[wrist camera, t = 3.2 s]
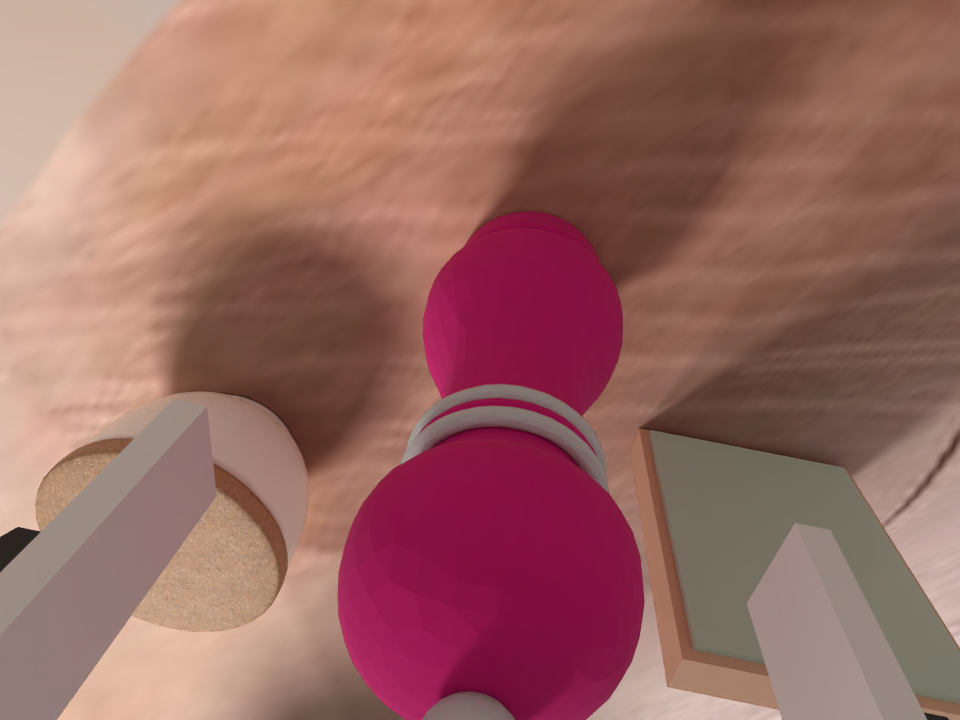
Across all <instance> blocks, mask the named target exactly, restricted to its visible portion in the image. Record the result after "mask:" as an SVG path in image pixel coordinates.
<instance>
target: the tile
mask: <svg viewBox="0 0 960 720" xmlns="http://www.w3.org/2000/svg"><path fill="white" fill-rule="evenodd" d="M630 454H631V461H632V467H633V473H634V479H635V486H636V492H637V498H638V505H639V511H640V517H641V524H642V530H643V536H644V543H645V549H646V555H647V561H648V568H649V574H650V580H651V587H652V593H653V599H654V606H655V612H656V618H657V625H658V631H659V637H660V643H661V650H662V656H663V662H664V669H665V675H666V681H667V687H671V688H676V689H680V690H685V691H690V692H695V693H700V694H705V695H710V696H715V697H719V698H724V699H729V700H734V701H739V702H744V703H749V704H754V705H758V706H763V707H768V708H773V709H778V710H779V707H778V704H777V701H776V697H775V694H774V691H773V688H772V684H771V681H770V678H769V675H768V671H767V668H766V665H765V662H764V658H763V655H762V652H761V648H760V645H759V642H758V639H757V635H756V632H755V629H754V626H753V622H752V619H751V616H750V612H749V609H748V606H747V602H748V601H749V599H750V597H751V596H752V594H753V592H754V591H755V589H756V587H757V586H758V584H759V582H760V581H761V579H762V577H763V576H764V574H765V572H766V571H767V569H768V567H769V566H770V564H771V562H772V561H773V559H774V557H775V556H776V554H777V552H778V551H779V549H780V547H781V546H782V544H783V542H784V541H785V539H786V537H787V536H788V534H789V532H790V531H791V529H792V527H793V526H794V524H795V523H799V524H804V525H809V526H814V527H819V528H824V529H829V530H831V532H832V534H833V536H834V538H835V540H836V542H837V544H838V545H839V547H840V549H841V551H842V553H843V555H844V557H845V559H846V561H847V563H848V565H849V567H850V569H851V571H852V573H853V575H854V577H855V579H856V581H857V583H858V585H859V587H860V589H861V591H862V593H863V595H864V596H865V598H866V600H867V602H868V604H869V606H870V608H871V610H872V612H873V614H874V616H875V618H876V620H877V622H878V624H879V626H880V628H881V630H882V632H883V634H884V636H885V638H886V640H887V642H888V644H889V646H890V648H891V649H892V651H893V653H894V655H895V657H896V659H897V661H898V663H899V665H900V667H901V669H902V671H903V673H904V675H905V677H906V679H907V681H908V683H909V685H910V687H911V689H912V691H913V693H914V695H915V697H916V699H917V700H918V702H919V704H920V706H921V708H922V710H923V712H925V713H930V714H934V715H939V716H944V717H947V718H948V719H949V720H960V648H959V646H958V644H957V643H956V641H955V640H954V638H953V636H952V635H951V633H950V632H949V630H948V629H947V627H946V625H945V624H944V622H943V621H942V619H941V618H940V616H939V614H938V613H937V611H936V610H935V608H934V606H933V605H932V603H931V602H930V600H929V599H928V597H927V595H926V594H925V592H924V591H923V589H922V587H921V586H920V584H919V583H918V581H917V580H916V578H915V576H914V575H913V573H912V572H911V570H910V568H909V567H908V565H907V564H906V562H905V561H904V559H903V557H902V556H901V554H900V553H899V551H898V549H897V548H896V546H895V545H894V543H893V542H892V540H891V538H890V537H889V535H888V534H887V532H886V531H885V529H884V527H883V526H882V524H881V523H880V521H879V519H878V518H877V516H876V515H875V513H874V512H873V510H872V508H871V507H870V505H869V504H868V502H867V500H866V499H865V497H864V496H863V494H862V493H861V491H860V489H859V488H858V486H857V485H856V483H855V481H854V480H853V478H852V477H851V475H850V474H849V472H848V470H847V469H846V468H844V467H839V466H834V465H829V464H824V463H818V462H813V461H808V460H803V459H798V458H793V457H787V456H782V455H777V454H772V453H767V452H762V451H757V450H751V449H746V448H741V447H736V446H731V445H726V444H721V443H715V442H710V441H705V440H700V439H695V438H690V437H685V436H679V435H674V434H669V433H664V432H659V431H654V430H645V429H640V428H639V429H638V432H637V435H636V438H635V440H634V443H633V446H632V449H631V451H630Z"/></svg>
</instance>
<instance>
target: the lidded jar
mask: <svg viewBox="0 0 960 720" xmlns="http://www.w3.org/2000/svg"><path fill="white" fill-rule="evenodd" d="M173 399H174V400H179V401H185V402H190V403H195V404H200V405H205V406H207V411H208V420H209V430H210V439H211V448H212V457H213V467H214V476H215V485H216V494H217V496H216V498H215V499H214V500H213V502H212V503H211V505H210V506H209V507H208V509H207V510H206V512H205V513H204V514H203V516H202V517H201V519H200V520H199V521H198V523H197V524H196V526H195V527H194V528H193V530H192V531H191V533H190V534H189V535H188V537H187V538H186V540H185V541H184V542H183V544H182V545H181V547H180V548H179V549H178V551H177V552H176V554H175V555H174V556H173V558H172V559H171V561H170V562H169V563H168V565H167V566H166V568H165V569H164V570H163V572H162V573H161V575H160V576H159V577H158V579H157V580H156V582H155V583H154V584H153V586H152V587H151V589H150V590H149V591H148V593H147V594H146V596H145V597H144V598H143V600H142V601H141V603H140V604H139V605H138V607H137V608H136V610H135V611H134V612H133V614H132V615H131V616H134V617H136V618H139V619H141V620H144V621H147V622H150V623H153V624H156V625H159V626H163V627H168V628H172V629H178V630H185V631H192V632H212V631H224V630H228V629H232V628H236V627H239V626H242V625H244V624H247V623H249V622H251V621H253V620H254V619H256V618H257V617H259V616H260V615H262V614H263V613H264V612H265V611H266V610H267V609H268V608H269V607H270V606H271V605H272V603H273V602H274V600H275V598H276V596H277V595H278V593H279V591H280V589H281V587H282V584H283V582H284V579H285V575H286V572H287V568H288V566H289V564H290V562H291V560H292V558H293V556H294V553H295V551H296V549H297V547H298V544H299V541H300V537H301V534H302V531H303V528H304V524H305V521H306V516H307V510H308V505H309V481H308V474H307V470H306V466H305V463H304V460H303V457H302V454H301V452H300V450H299V448H298V446H297V444H296V443H295V441H294V440H293V438H292V435H291V433H290V432H289V430H288V428H287V427H286V425H285V424H284V423H283V422H282V420H281V419H280V418H279V417H278V416H277V415H276V414H274V413H273V412H272V411H271V410H269V409H268V408H266V407H265V406H263V405H262V404H260V403H258V402H256V401H254V400H251V399H248V398H245V397H242V396H237V395H230V394H221V393H216V392H205V391H200V392H184V393H177V394H172V395H168V396H164V397H161V398H157V399H154V400H152V401H149V402H147V403H145V404H142V405H140V406H138V407H136V408H134V409H132V410H130V411H128V412H127V413H125V414H124V415H122V416H121V417H119V418H118V419H116V420H115V421H113V422H112V423H110V424H109V425H107V426H106V427H104V428H103V429H101V430H100V431H99V432H98V433H97V434H95V435H94V436H93V437H92V438H90V439H89V440H88V441H87V442H86V443H84V444H83V445H82V446H81V447H79V448H78V449H76V450H75V451H73V452H72V453H70V454H69V455H67V456H66V457H65V458H63V459H62V460H61V461H60V462H58V463H57V464H56V465H55V466H54V467H53V468H52V469H51V470H50V471H49V473H48V474H47V475H46V476H45V477H44V479H43V481H42V483H41V485H40V487H39V489H38V494H37V499H36V519H37V522H38V526H39V529H40V532H41V531H42V530H43V529H44V528H45V527H46V526H47V525H48V524H49V523H50V522H51V521H52V520H53V519H54V518H55V517H56V516H57V515H58V514H59V513H60V512H61V511H62V510H63V509H64V508H65V507H66V506H67V505H68V504H69V503H70V502H71V501H72V500H73V499H74V498H75V497H76V496H77V495H78V494H79V493H80V492H81V491H82V490H83V489H84V488H85V487H86V486H87V485H88V484H89V483H90V482H91V481H92V480H93V479H94V478H95V477H96V476H97V475H98V474H99V473H100V472H101V471H102V470H103V469H104V468H105V467H106V466H107V465H108V464H109V463H110V462H111V461H112V460H113V459H114V458H115V457H116V456H117V455H118V454H119V453H120V452H121V451H122V450H123V449H124V448H125V447H126V446H127V445H128V444H129V443H130V442H131V441H132V440H133V439H134V438H135V437H136V436H137V435H138V434H139V433H140V432H141V431H142V430H143V429H144V428H145V427H146V426H147V425H148V424H149V423H150V422H151V421H152V420H153V419H154V418H155V417H156V416H157V415H158V414H159V413H160V412H161V411H162V410H163V409H164V408H165V407H166V406H167V405H168V404H169V403H170V402H171V401H172V400H173Z"/></svg>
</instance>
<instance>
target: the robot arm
mask: <svg viewBox="0 0 960 720" xmlns="http://www.w3.org/2000/svg"><path fill="white" fill-rule="evenodd" d="M216 496H217V494H216V485H215V476H214V467H213V457H212V448H211V439H210V430H209V420H208V411H207V406H205V405H200V404H195V403H190V402H185V401H179V400H174V399H173V400H172V401H171V402H170V403H169V404H168V405H167V406H166V407H165V408H164V409H163V410H162V411H161V412H160V413H159V414H158V415H157V416H156V417H155V418H154V419H153V420H152V421H151V422H150V423H149V424H148V425H147V426H146V427H145V428H144V429H143V430H142V431H141V432H140V433H139V434H138V435H137V436H136V437H135V438H134V439H133V440H132V441H131V442H130V443H129V444H128V445H127V446H126V447H125V448H124V449H123V450H122V451H121V452H120V453H119V454H118V455H117V456H116V457H115V458H114V459H113V460H112V461H111V462H110V463H109V464H108V465H107V466H106V467H105V468H104V469H103V470H102V471H101V472H100V473H99V474H98V475H97V476H96V477H95V478H94V479H93V480H92V481H91V482H90V483H89V484H88V485H87V486H86V487H85V488H84V489H83V490H82V491H81V492H80V493H79V494H78V495H77V496H76V497H75V498H74V499H73V500H72V501H71V502H70V503H69V504H68V505H67V506H66V507H65V508H64V509H63V510H62V511H61V512H60V513H59V514H58V515H57V516H56V517H55V518H54V519H53V520H52V521H51V522H50V523H49V524H48V525H47V526H46V527H45V528H44V529H43V530H42V531H41V532H40V531H35V530H30V529H25V528H20V527H17V528H15V529H14V530H12V531H10V532H8V533H6V534H5V535H3V536H1V537H0V720H57V719H58V717H59V716H60V715H61V713H62V712H63V710H64V709H65V708H66V706H67V705H68V703H69V702H70V701H71V699H72V698H73V696H74V695H75V694H76V692H77V691H78V689H79V688H80V687H81V685H82V684H83V682H84V681H85V680H86V678H87V677H88V675H89V674H90V673H91V671H92V670H93V668H94V667H95V666H96V664H97V663H98V661H99V660H100V659H101V657H102V656H103V654H104V653H105V652H106V650H107V649H108V647H109V646H110V645H111V643H112V642H113V640H114V639H115V638H116V636H117V635H118V633H119V632H120V631H121V629H122V628H123V626H124V625H125V624H126V622H127V621H128V619H129V618H130V617H131V615H132V614H133V612H134V611H135V610H136V608H137V607H138V605H139V604H140V603H141V601H142V600H143V598H144V597H145V596H146V594H147V593H148V591H149V590H150V589H151V587H152V586H153V584H154V583H155V582H156V580H157V579H158V577H159V576H160V575H161V573H162V572H163V570H164V569H165V568H166V566H167V565H168V563H169V562H170V561H171V559H172V558H173V556H174V555H175V554H176V552H177V551H178V549H179V548H180V547H181V545H182V544H183V542H184V541H185V540H186V538H187V537H188V535H189V534H190V533H191V531H192V530H193V528H194V527H195V526H196V524H197V523H198V521H199V520H200V519H201V517H202V516H203V514H204V513H205V512H206V510H207V509H208V507H209V506H210V505H211V503H212V502H213V500H214V499H215V498H216ZM747 606H748V609H749V612H750V616H751V619H752V622H753V626H754V629H755V632H756V635H757V639H758V642H759V645H760V648H761V652H762V655H763V658H764V662H765V665H766V668H767V671H768V675H769V678H770V681H771V684H772V688H773V691H774V694H775V697H776V701H777V704H778V707H779V711H780V714H781V717H782V720H949V719H948V718H947V717H944V716H939V715H934V714H930V713H925V712H923V710H922V708H921V706H920V704H919V702H918V700H917V699H916V697H915V695H914V693H913V691H912V689H911V687H910V685H909V683H908V681H907V679H906V677H905V675H904V673H903V671H902V669H901V667H900V665H899V663H898V661H897V659H896V657H895V655H894V653H893V651H892V649H891V648H890V646H889V644H888V642H887V640H886V638H885V636H884V634H883V632H882V630H881V628H880V626H879V624H878V622H877V620H876V618H875V616H874V614H873V612H872V610H871V608H870V606H869V604H868V602H867V600H866V598H865V596H864V595H863V593H862V591H861V589H860V587H859V585H858V583H857V581H856V579H855V577H854V575H853V573H852V571H851V569H850V567H849V565H848V563H847V561H846V559H845V557H844V555H843V553H842V551H841V549H840V547H839V545H838V544H837V542H836V540H835V538H834V536H833V534H832V532H831V530H829V529H824V528H819V527H814V526H809V525H804V524H799V523H795V524H794V526H793V527H792V529H791V531H790V532H789V534H788V536H787V537H786V539H785V541H784V542H783V544H782V546H781V547H780V549H779V551H778V552H777V554H776V556H775V557H774V559H773V561H772V562H771V564H770V566H769V567H768V569H767V571H766V572H765V574H764V576H763V577H762V579H761V581H760V582H759V584H758V586H757V587H756V589H755V591H754V592H753V594H752V596H751V597H750V599H749V601H748V602H747Z"/></svg>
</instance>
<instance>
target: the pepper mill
mask: <svg viewBox="0 0 960 720" xmlns="http://www.w3.org/2000/svg"><path fill="white" fill-rule="evenodd" d="M622 334H623V314H622V308H621V302H620V298H619V295H618V292H617V289H616V287H615V285H614V283H613V281H612V279H611V277H610V275H609V274H608V272H607V271H606V270H605V268H604V267H603V266H602V265H601V263H600V262H599V259H598V256H597V254H596V252H595V250H594V248H593V246H592V245H591V244H590V242H589V241H588V240H587V239H586V237H585V236H584V235H583V234H582V233H581V232H580V231H579V230H578V229H577V228H575V227H574V226H573V225H571V224H570V223H568V222H566V221H565V220H563V219H561V218H559V217H556V216H553V215H550V214H546V213H542V212H532V211H527V212H515V213H511V214H507V215H504V216H500V217H498V218H496V219H494V220H491V221H490V222H488V223H487V224H485V225H484V226H482V227H481V228H480V229H479V230H478V231H476V232H475V233H474V234H473V236H472V237H471V238H470V239H469V240H468V241H467V243H466V245H465V246H464V247H463V248H462V249H461V250H459V251H458V252H457V253H456V254H454V255H453V256H452V257H451V259H450V260H449V261H448V262H447V263H446V264H445V265H444V266H443V268H442V269H441V271H440V272H439V274H438V275H437V277H436V279H435V280H434V283H433V285H432V288H431V290H430V293H429V296H428V301H427V305H426V309H425V314H424V318H423V339H424V346H425V353H426V360H427V363H428V367H429V370H430V373H431V375H432V378H433V380H434V382H435V384H436V386H437V388H438V390H439V392H440V395H441V398H442V400H440V401H439V402H437V403H436V404H434V405H433V406H432V407H431V408H430V409H429V410H427V411H426V412H425V413H424V415H423V416H422V417H421V419H420V420H419V421H418V423H417V424H416V426H415V427H414V429H413V431H412V433H411V434H410V437H409V441H408V444H407V449H406V451H405V453H404V455H403V457H402V460H401V463H400V465H399V466H397V467H395V468H394V469H393V470H392V471H391V472H390V473H389V474H387V475H386V476H385V477H384V478H383V479H382V480H381V481H380V482H379V483H378V485H377V486H376V487H375V488H374V490H373V491H372V492H371V493H370V495H369V496H368V497H367V499H366V500H365V501H364V502H363V504H362V506H361V508H360V510H359V512H358V513H357V515H356V517H355V519H354V521H353V524H352V527H351V529H350V532H349V535H348V537H347V540H346V544H345V547H344V551H343V556H342V560H341V564H340V569H339V578H338V614H339V620H340V624H341V628H342V632H343V637H344V641H345V644H346V647H347V649H348V652H349V654H350V657H351V660H352V662H353V664H354V665H355V667H356V669H357V670H358V672H359V673H360V675H361V677H362V678H363V680H364V682H365V683H366V685H367V686H368V687H369V688H370V689H371V690H372V691H373V692H374V693H375V694H376V696H377V697H378V698H379V699H380V700H381V701H382V702H383V703H384V704H385V705H386V706H387V707H389V708H390V709H391V710H393V711H394V712H395V713H397V714H398V715H400V716H401V717H402V718H404V719H405V720H586V719H587V718H588V717H590V716H591V715H592V714H593V713H594V712H595V711H596V710H597V709H598V708H599V707H601V706H602V705H603V704H604V703H605V702H606V701H607V700H608V699H609V698H610V697H611V695H612V694H613V692H614V690H615V689H616V687H617V686H618V684H619V683H620V681H621V680H622V678H623V676H624V674H625V673H626V671H627V669H628V667H629V666H630V664H631V662H632V659H633V656H634V653H635V650H636V647H637V644H638V640H639V637H640V631H641V624H642V617H643V609H644V591H643V579H642V569H641V560H640V554H639V551H638V548H637V545H636V541H635V538H634V535H633V532H632V530H631V528H630V526H629V525H628V523H627V521H626V519H625V517H624V516H623V514H622V512H621V510H620V509H619V507H618V506H617V504H616V503H615V501H614V500H613V498H612V497H611V496H610V494H609V491H608V484H607V479H606V462H605V456H604V452H603V449H602V447H601V444H600V442H599V440H598V438H597V436H596V434H595V432H594V431H593V430H592V428H591V427H590V425H589V424H588V423H587V421H586V420H585V419H584V418H583V414H584V413H585V412H586V411H587V410H588V409H589V407H590V406H591V405H592V404H593V403H594V402H595V401H596V400H597V399H598V398H599V396H600V395H601V393H602V392H603V390H604V389H605V387H606V385H607V383H608V381H609V379H610V377H611V375H612V373H613V371H614V369H615V366H616V364H617V362H618V359H619V355H620V350H621V346H622Z"/></svg>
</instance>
